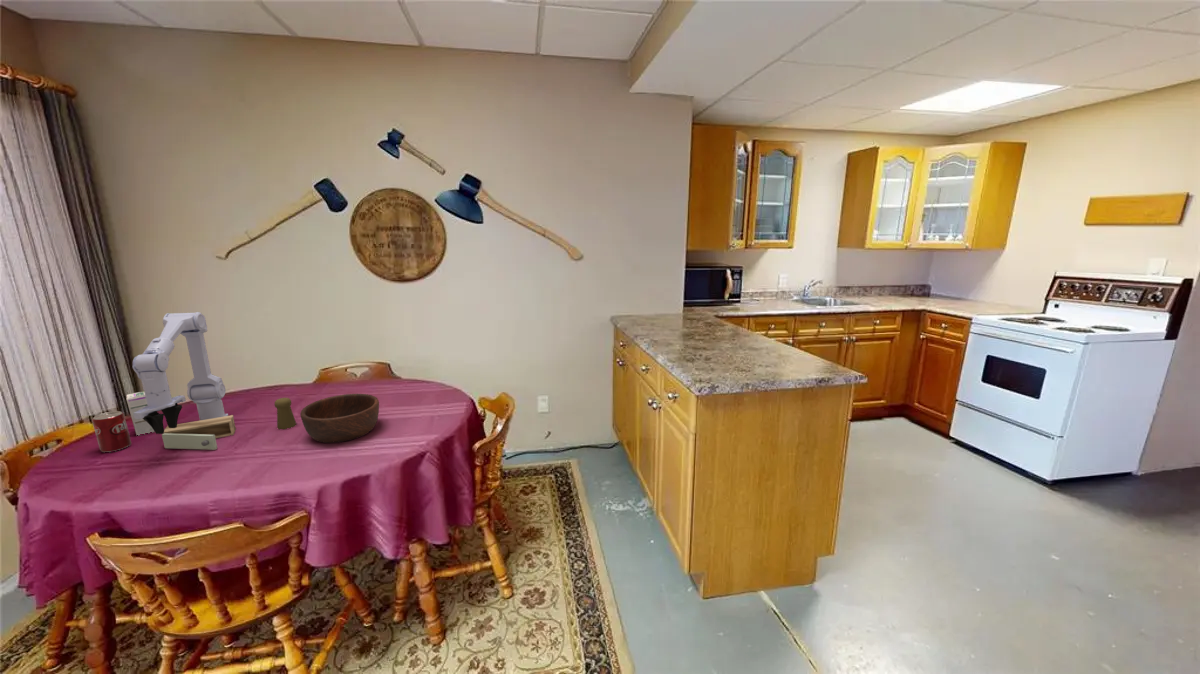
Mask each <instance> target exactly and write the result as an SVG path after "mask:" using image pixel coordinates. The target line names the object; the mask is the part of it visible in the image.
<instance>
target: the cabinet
mask: <svg viewBox="0 0 1200 674" xmlns="http://www.w3.org/2000/svg"><path fill="white" fill-rule="evenodd" d="M236 429H237V428H236V424H235V418H234V415H233V414H231V415H228V416H224V417H218V418H212V419H206V420H200V419H199V420H196V421H190V422H184V423H183V422H182V423H177V427H176V428H169V427H168V425H167V426H166V427H165V428H164V433H172V434H207V435H215V438H216V439H219V438H224V437H230V435H231V436H234V435H235V432H236ZM164 433H163V434H164Z"/></svg>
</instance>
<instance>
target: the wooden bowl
mask: <svg viewBox="0 0 1200 674" xmlns="http://www.w3.org/2000/svg"><path fill="white" fill-rule="evenodd" d="M379 412H380V401H379V398H378V397H377V396H375V395H372V394H366V393H346V394H339V395H338V394H337V395H333V396H330V397H326V398H322V399H318V400H315V401H314V402H312V403H309V404H307V405H306V406H305V407H303V408H302V409H301V410H300V419H301V422H302V424H303V427H304V429H305V431H306V433H307V434H308V435H309V436H310V438H312V439H313V440H314V441H317V442H320V443H326V444H329V443H330V444H331V443H332V444H333V443H342V442H348V441H352V440H355V439H358V438H361V437H363V436H365V435H367V434H369V433H370V432H371V431H372V430H373V429H374V428H375V426H376V424H377V421H378V419H379ZM369 431H370V432H369ZM366 433H367V434H366ZM360 436H361V437H360ZM357 437H358V438H357Z"/></svg>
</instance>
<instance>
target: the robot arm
mask: <svg viewBox="0 0 1200 674" xmlns="http://www.w3.org/2000/svg"><path fill="white" fill-rule="evenodd" d="M162 325H163V329H162V331H161V333H160V335H159V337H155V338H153V339H152V340H151V341H150V343H149V344H148V346H147V347H146V348H145V350H144V351H143V353H142V354H141V353H140V354H138V355H136V356H134V358H133V360H132V369H133V371H134V372H135V373H136V375H137V378H138V379H139V380H140V381H141V384H142V385H141V386H142V389H143V391H144V393H145V397H146V402H147V406H146V407H144V408H142V409H140V410H139V411H137V412H134V413H133V414H134V417H135V419H144V420H145V421H146V422H147V423H148V424H149V425H150V426H151V427H152V428H153V430H154V431H155V432H154V433H155V434H156V435H157V434H158V435H162V434H163V433H164V430H165V428H164V418H165V420H166V424H167V426H168V427H169V428H176V427H177V424H178V420H179V415H180V413H181V410H182V409H183V405H182V404H179V403H184V402H187V399H188V400H190V401H191V402H193V404H196V409H197V412H198V418H199V421H200V420H206V419H212V418H218V417H224V416H229V413H226V412H225V409H224V404H223V400H222V399H223V398H224V397H225V394H226V386H225V384H224V382H223V379H222V377H220V376H217V375H214V374H212V370H211V366H210V361H209V355H208V351H207V345H206V340H205V336H204V335H205V333H206V332H208V325H207V320H206V316H205V315H204V314H202V312H200V311H196V312H174V313H169V312H167V313H165V314H164V316H163V317H162ZM179 335H182V336H184V337H185V339H186V344H187V349H188V354H189V355H188V356H189V361H190V364H191V369H192V374H193V378H191V379H190V380H189V381H188V382H187V385H186V387H187V392H186V393H187V395H186V396H187V397H188V398H187V399H186V397H185V395H177V396H173V397H172V394H171V389H170V385H169V381H168V375H167V372H166V370H167V369H168V367H169V361H170V355H171V354H172V352H173V350H174V349H175V347H176V346H175V343H174V341H176V339H177V338H178V337H179ZM160 411H161V412H162V413H160Z"/></svg>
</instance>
